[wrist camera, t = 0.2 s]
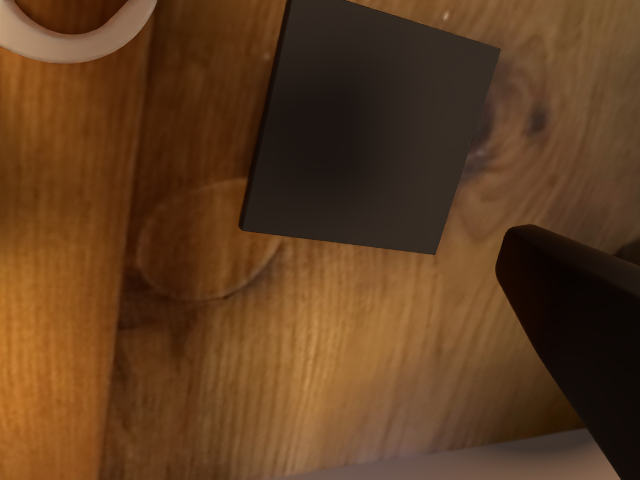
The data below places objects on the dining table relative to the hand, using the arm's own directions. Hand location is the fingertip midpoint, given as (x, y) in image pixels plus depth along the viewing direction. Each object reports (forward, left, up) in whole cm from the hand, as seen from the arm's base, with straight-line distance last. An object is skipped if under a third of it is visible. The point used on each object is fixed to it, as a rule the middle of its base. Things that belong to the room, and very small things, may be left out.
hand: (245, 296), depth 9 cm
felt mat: (+5, -8, -16) cm, 19 cm away
